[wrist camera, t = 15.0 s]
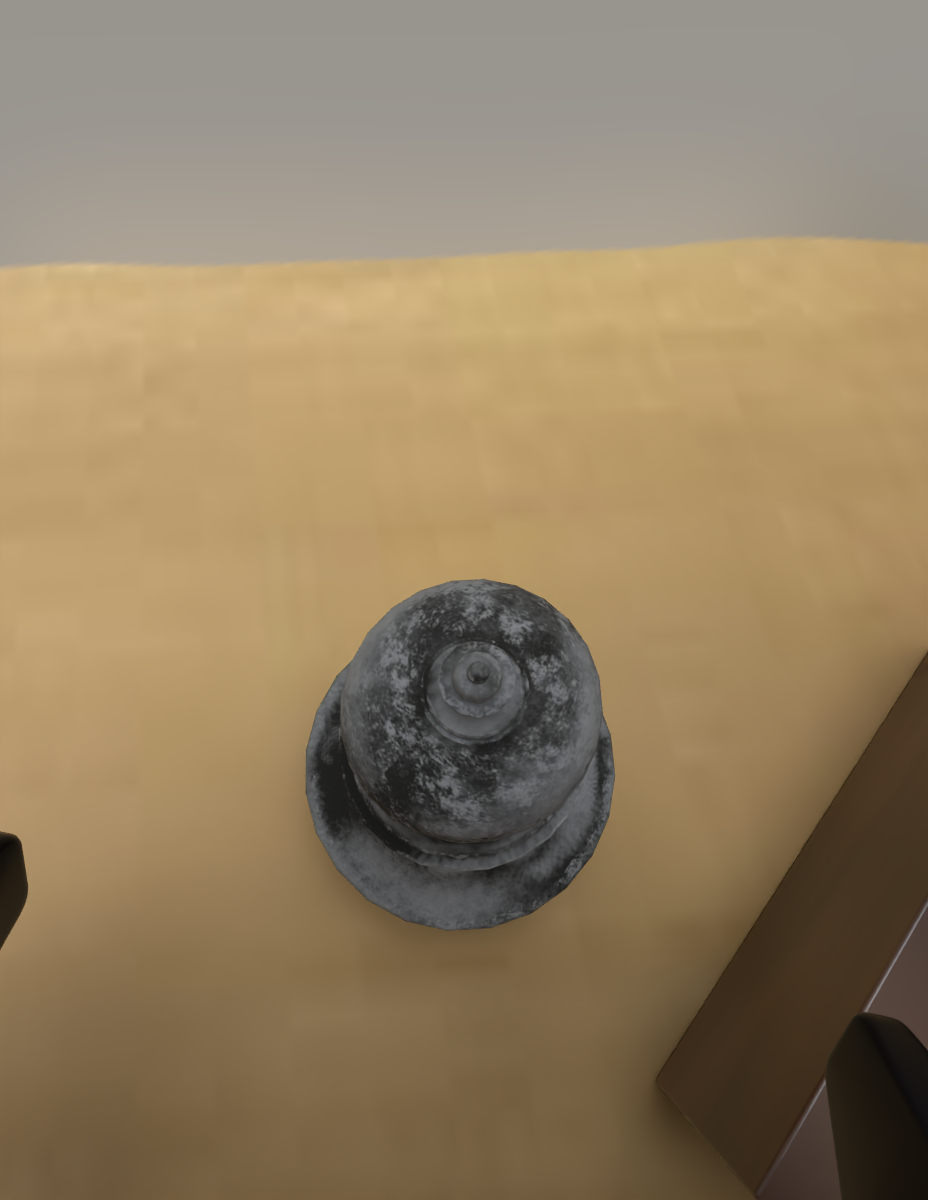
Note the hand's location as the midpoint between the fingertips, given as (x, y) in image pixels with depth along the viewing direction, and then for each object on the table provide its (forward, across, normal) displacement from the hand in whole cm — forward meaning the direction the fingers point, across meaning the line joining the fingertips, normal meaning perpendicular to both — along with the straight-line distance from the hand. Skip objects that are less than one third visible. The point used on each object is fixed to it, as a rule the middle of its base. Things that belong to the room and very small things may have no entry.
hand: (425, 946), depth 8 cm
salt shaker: (+9, 0, +5) cm, 10 cm away
